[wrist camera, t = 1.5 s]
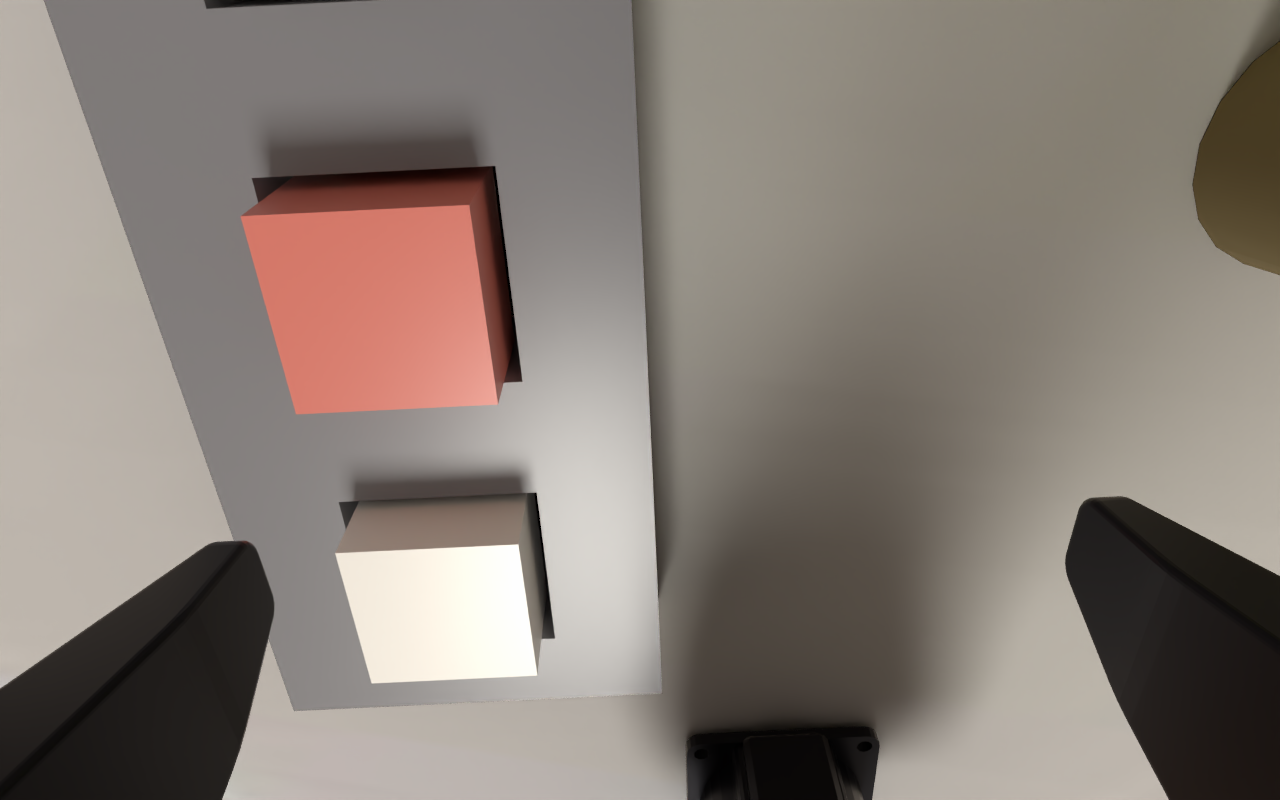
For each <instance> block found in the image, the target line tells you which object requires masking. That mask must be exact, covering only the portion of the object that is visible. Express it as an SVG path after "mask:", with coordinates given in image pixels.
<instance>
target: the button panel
mask: <svg viewBox="0 0 1280 800" xmlns="http://www.w3.org/2000/svg"><path fill="white" fill-rule="evenodd" d="M44 2H45V5H46V8H47V11H48V14H49V16H50V19H51V22H52V25H53V28H54V31H55V34H56V36H57V39H58V42H59V45H60V48H61V51H62V53H63V56H64V59H65V62H66V65H67V68H68V70H69V73H70V76H71V79H72V82H73V85H74V88H75V90H76V93H77V96H78V99H79V102H80V105H81V107H82V110H83V113H84V116H85V119H86V122H87V124H88V127H89V130H90V133H91V136H92V139H93V141H94V144H95V147H96V150H97V153H98V156H99V159H100V161H101V164H102V167H103V170H104V173H105V176H106V178H107V181H108V184H109V187H110V190H111V193H112V195H113V198H114V201H115V204H116V207H117V210H118V213H119V215H120V218H121V221H122V224H123V227H124V230H125V232H126V235H127V238H128V241H129V244H130V247H131V249H132V252H133V255H134V258H135V261H136V264H137V267H138V269H139V272H140V275H141V278H142V281H143V284H144V286H145V289H146V292H147V295H148V298H149V301H150V303H151V306H152V309H153V312H154V315H155V318H156V320H157V323H158V326H159V329H160V332H161V335H162V338H163V340H164V343H165V346H166V349H167V352H168V355H169V357H170V360H171V363H172V366H173V369H174V372H175V374H176V377H177V380H178V383H179V386H180V389H181V392H182V394H183V397H184V400H185V403H186V406H187V409H188V411H189V414H190V417H191V420H192V423H193V426H194V428H195V431H196V434H197V437H198V440H199V443H200V446H201V448H202V451H203V454H204V457H205V460H206V463H207V465H208V468H209V471H210V474H211V477H212V480H213V482H214V485H215V488H216V491H217V494H218V497H219V499H220V502H221V505H222V508H223V511H224V514H225V517H226V519H227V522H228V525H229V528H230V531H231V534H232V536H233V539H234V541H248V542H250V543H252V544H253V545H254V546H255V547H256V549H257V551H258V554H259V557H260V559H261V562H262V565H263V568H264V570H265V573H266V576H267V579H268V582H269V584H270V587H271V590H272V593H273V596H274V602H275V612H274V619H273V623H272V627H271V631H270V635H269V642H270V644H271V647H272V650H273V653H274V656H275V659H276V661H277V664H278V667H279V670H280V673H281V676H282V678H283V681H284V684H285V687H286V690H287V693H288V696H289V698H290V701H291V704H292V707H293V710H294V711H304V710H326V709H347V708H368V707H389V706H410V705H431V704H452V703H473V702H494V701H516V700H537V699H558V698H579V697H600V696H621V695H642V694H662V675H661V652H660V630H659V607H658V585H657V562H656V540H655V517H654V495H653V472H652V450H651V427H650V405H649V382H648V360H647V337H646V315H645V293H644V270H643V248H642V225H641V203H640V180H639V158H638V135H637V113H636V90H635V68H634V45H633V23H632V0H44ZM484 166H495V168H496V175H497V183H498V191H499V199H500V207H501V215H502V223H503V231H504V239H505V246H506V254H507V262H508V270H509V278H510V286H511V294H512V302H513V310H514V317H515V318H512V323H513V331H514V338H515V341H514V345H513V349H512V353H511V357H510V361H509V364H508V368H507V372H506V376H505V380H504V384H503V388H502V391H501V395H500V399H499V403H498V405H479V406H458V407H437V408H417V409H396V410H376V411H355V412H335V413H314V414H296V412H295V409H294V405H293V402H292V398H291V394H290V391H289V387H288V384H287V380H286V377H285V373H284V370H283V366H282V362H281V359H280V355H279V352H278V348H277V345H276V341H275V337H274V334H273V330H272V327H271V323H270V320H269V316H268V313H267V309H266V305H265V302H264V298H263V295H262V291H261V288H260V284H259V281H258V277H257V273H256V270H255V266H254V263H253V259H252V256H251V252H250V248H249V245H248V241H247V238H246V234H245V231H244V227H243V224H242V220H241V215H243V214H244V213H245V212H247V211H248V210H249V209H251V208H252V207H254V206H255V205H256V204H258V203H259V202H260V201H262V200H263V199H264V198H266V197H267V196H268V195H270V194H271V193H272V192H274V191H275V190H276V189H278V188H279V187H280V186H282V185H283V184H284V183H286V182H287V181H288V180H290V179H291V178H292V177H294V176H302V175H322V174H343V173H363V172H383V171H403V170H423V169H443V168H463V167H484ZM536 492H537V499H538V507H539V515H540V523H541V531H542V538H543V546H544V552H542V556H543V564H544V572H545V580H546V588H547V594H546V603H545V612H544V621H543V630H542V639H541V648H540V657H539V666H538V674H537V676H519V677H498V678H477V679H456V680H435V681H414V682H393V683H371V679H370V676H369V672H368V669H367V665H366V662H365V658H364V654H363V651H362V647H361V644H360V640H359V637H358V633H357V630H356V626H355V622H354V619H353V615H352V612H351V608H350V605H349V601H348V597H347V594H346V590H345V587H344V583H343V580H342V576H341V573H340V569H339V565H338V562H337V558H336V555H335V552H336V550H337V548H338V546H339V544H340V542H341V539H342V537H343V535H344V533H345V531H346V528H347V526H348V524H349V522H350V520H351V518H352V515H353V513H354V511H355V509H356V507H357V505H358V502H359V501H370V500H391V499H412V498H433V497H453V496H474V495H495V494H515V493H536Z"/></svg>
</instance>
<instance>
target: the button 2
mask: <svg viewBox="0 0 1280 800" xmlns="http://www.w3.org/2000/svg"><path fill="white" fill-rule="evenodd" d="M335 555H336V558H337V562H338V565H339V569H340V573H341V576H342V580H343V583H344V587H345V590H346V594H347V597H348V601H349V605H350V608H351V612H352V615H353V619H354V622H355V626H356V630H357V633H358V637H359V640H360V644H361V647H362V651H363V654H364V658H365V662H366V665H367V669H368V672H369V676H370V679H371V683H393V682H414V681H435V680H456V679H477V678H498V677H519V676H537V674H538V666H539V657H540V648H541V639H542V630H543V621H544V612H545V603H546V594H547V588H546V580H545V572H544V564H543V556H542V549H541V541H540V533H539V525H538V517H537V510H536V502H535V494H534V493H515V494H495V495H474V496H453V497H433V498H412V499H391V500H370V501H359V502H358V505H357V507H356V509H355V511H354V513H353V515H352V518H351V520H350V522H349V524H348V526H347V528H346V531H345V533H344V535H343V537H342V539H341V542H340V544H339V546H338V548H337V550H336V552H335Z"/></svg>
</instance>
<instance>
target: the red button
mask: <svg viewBox="0 0 1280 800" xmlns="http://www.w3.org/2000/svg"><path fill="white" fill-rule="evenodd" d="M241 220H242V224H243V227H244V231H245V234H246V238H247V241H248V245H249V248H250V252H251V256H252V259H253V263H254V266H255V270H256V273H257V277H258V281H259V284H260V288H261V291H262V295H263V298H264V302H265V305H266V309H267V313H268V316H269V320H270V323H271V327H272V330H273V334H274V337H275V341H276V345H277V348H278V352H279V355H280V359H281V362H282V366H283V370H284V373H285V377H286V380H287V384H288V387H289V391H290V394H291V398H292V402H293V405H294V409H295V412H296V414H314V413H335V412H355V411H376V410H396V409H417V408H437V407H458V406H479V405H498V403H499V399H500V395H501V391H502V388H503V384H504V380H505V376H506V372H507V368H508V364H509V361H510V357H511V353H512V349H513V345H514V341H515V338H514V331H513V323H512V315H511V307H510V299H509V292H508V284H507V276H506V268H505V260H504V253H503V245H502V237H501V229H500V221H499V214H498V206H497V198H496V190H495V183H494V175H493V167H492V166H484V167H463V168H443V169H423V170H403V171H383V172H363V173H343V174H322V175H302V176H294V177H292V178H291V179H290V180H288V181H287V182H286V183H284V184H283V185H282V186H280V187H279V188H278V189H276V190H275V191H274V192H272V193H271V194H270V195H268V196H267V197H266V198H264V199H263V200H262V201H260V202H259V203H258V204H256V205H255V206H254V207H252V208H251V209H249V210H248V211H247V212H245V213H244V214H243V215H241Z"/></svg>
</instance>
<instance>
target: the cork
mask: <svg viewBox="0 0 1280 800" xmlns="http://www.w3.org/2000/svg"><path fill="white" fill-rule="evenodd" d="M1193 190H1194V196H1195V202H1196V208H1197V214H1198V220H1199V221H1200V223H1201V224H1202V226H1203V227H1204V229H1205V231H1206V232H1207V234H1208V235H1209V237H1210V238H1211V240H1212V241H1213V243H1214V244H1215V246H1216V247H1217V248H1219V249H1221V250H1222V251H1224V252H1225V253H1227V254H1229V255H1230V256H1232V257H1234V258H1235V259H1237V260H1238V261H1240V262H1242V263H1243V264H1246V265H1249V266H1253V267H1256V268H1259V269H1262V270H1265V271H1269V272H1272V273H1275V274H1278V275H1280V41H1279V42H1278V43H1277V44H1276V45H1274V46H1273V47H1272V48H1271V49H1269V50H1268V51H1267V52H1265V53H1264V54H1263V55H1262V56H1260V57H1259V58H1258V59H1256V60H1255V61H1254V62H1253V63H1252V64H1251V65H1250V66H1249V68H1248V69H1247V70H1246V71H1245V73H1244V74H1243V75H1242V76H1241V77H1240V79H1239V80H1238V81H1237V82H1236V84H1235V85H1234V86H1233V87H1232V88H1231V90H1230V91H1229V92H1228V93H1227V95H1226V96H1225V97H1224V98H1223V99H1222V101H1221V102H1220V104H1219V106H1218V108H1217V110H1216V112H1215V114H1214V116H1213V118H1212V120H1211V122H1210V124H1209V127H1208V129H1207V131H1206V133H1205V135H1204V137H1203V139H1202V141H1201V143H1200V147H1199V152H1198V158H1197V163H1196V169H1195V175H1194V180H1193Z"/></svg>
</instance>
